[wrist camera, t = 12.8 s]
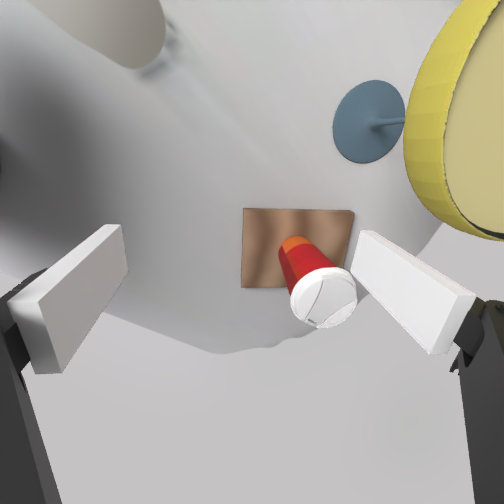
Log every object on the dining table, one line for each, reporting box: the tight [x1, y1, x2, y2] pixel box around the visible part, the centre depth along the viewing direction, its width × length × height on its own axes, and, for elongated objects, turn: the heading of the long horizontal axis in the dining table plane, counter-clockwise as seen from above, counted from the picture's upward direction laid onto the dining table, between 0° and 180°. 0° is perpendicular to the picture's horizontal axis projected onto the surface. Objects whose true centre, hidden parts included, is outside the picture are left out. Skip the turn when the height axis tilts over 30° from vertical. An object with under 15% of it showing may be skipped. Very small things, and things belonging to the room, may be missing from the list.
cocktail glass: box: [333, 0, 504, 241], centre depth 26 cm, size 18×18×25 cm
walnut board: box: [241, 208, 354, 288], centre depth 44 cm, size 18×14×2 cm
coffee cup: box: [278, 236, 357, 329], centre depth 36 cm, size 8×8×15 cm
